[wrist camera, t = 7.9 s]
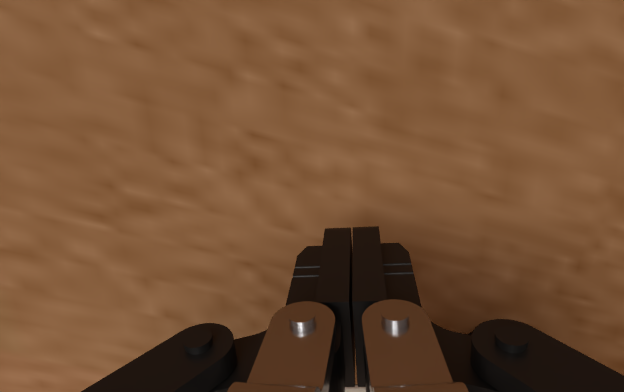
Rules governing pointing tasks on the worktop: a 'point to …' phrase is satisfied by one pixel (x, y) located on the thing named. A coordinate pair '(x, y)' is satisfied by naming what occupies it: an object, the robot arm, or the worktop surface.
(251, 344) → the robot arm
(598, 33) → the worktop surface
